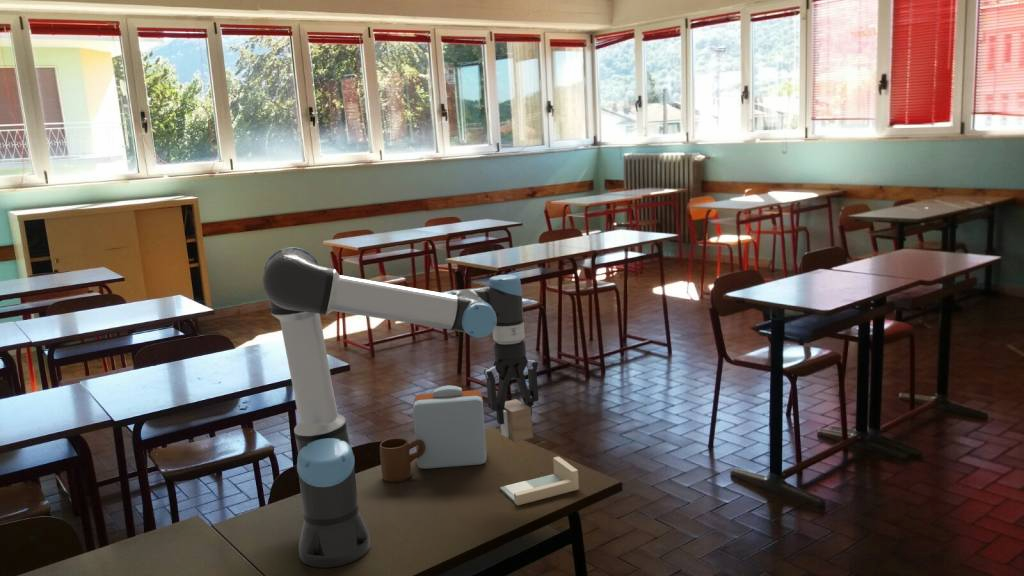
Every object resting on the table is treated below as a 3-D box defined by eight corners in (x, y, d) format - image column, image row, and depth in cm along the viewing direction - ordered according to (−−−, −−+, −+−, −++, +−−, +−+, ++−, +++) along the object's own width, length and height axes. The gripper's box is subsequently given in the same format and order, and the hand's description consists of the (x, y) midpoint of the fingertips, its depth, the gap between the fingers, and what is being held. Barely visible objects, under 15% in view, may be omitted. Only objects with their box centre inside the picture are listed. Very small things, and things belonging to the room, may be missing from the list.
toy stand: (517, 505, 192) (516, 485, 191) (500, 489, 201) (499, 470, 200) (578, 489, 199) (577, 470, 198) (559, 474, 208) (558, 456, 207)
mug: (423, 465, 219) (420, 432, 217) (431, 475, 212) (428, 441, 210) (379, 474, 215) (376, 441, 213) (386, 485, 208) (382, 450, 206)
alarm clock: (486, 452, 225) (481, 381, 222) (487, 465, 217) (482, 391, 213) (419, 457, 225) (413, 386, 221) (417, 470, 216) (411, 396, 212)
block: (500, 432, 199) (497, 403, 198) (518, 427, 201) (516, 399, 200) (514, 442, 192) (511, 412, 191) (533, 437, 194) (530, 407, 193)
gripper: (480, 350, 185) (488, 446, 190) (550, 336, 193) (555, 429, 197) (468, 343, 192) (475, 436, 196) (535, 330, 199) (541, 420, 204)
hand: (515, 432), depth 197 cm, fingers closed on block, 5 cm apart
